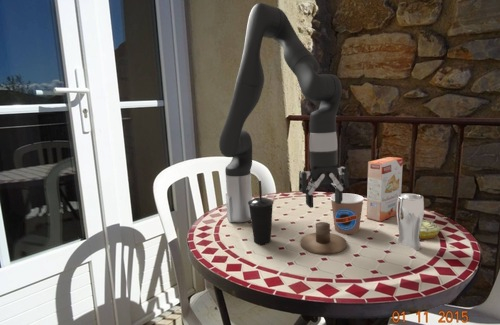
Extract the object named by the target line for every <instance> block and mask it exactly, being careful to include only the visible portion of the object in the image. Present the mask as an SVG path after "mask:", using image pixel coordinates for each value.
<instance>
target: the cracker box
mask: <svg viewBox="0 0 500 325" xmlns="http://www.w3.org/2000/svg"><path fill="white" fill-rule="evenodd" d="M403 162H404V159H403V157H394V156H392V157H391V156H387V157H383V158H380V159H378V158H377V159H375V160H374V159H373V160H371V161H370V160H369V161H368V162H367V188H366V189H367V193H366V194H367V195H366V196H367V197H366V219H369V220H373V221H377V222H382V221H385V220H388V219H389V218H391V217H394V216H397V214H396V209H397V199H398V195H399V194H402V185H403V184H402V183H403V167H404V166H403V165H404V163H403Z"/></svg>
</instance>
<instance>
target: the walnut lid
mask: <svg viewBox="0 0 500 325" xmlns="http://www.w3.org/2000/svg"><path fill="white" fill-rule="evenodd" d="M299 242H300V243H299V245H300V247H301V248H302V249H303V250H304V251H307V252H309V253H312V254H313V253H314V254H321V255H325V254H326V255H332V254H338V253H340V252H343V251H344V250H345V249H346V247H347V240H346V239H345V237H343V236H341V235H338V234H336V233H331V224H330V223H329V222H326V221H320V222H316V223H315V232H312V233H308V234H306V235H304V236H302V237H301V238H300V240H299Z"/></svg>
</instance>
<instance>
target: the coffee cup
mask: <svg viewBox="0 0 500 325" xmlns="http://www.w3.org/2000/svg"><path fill="white" fill-rule="evenodd" d="M329 199H330V201H331V202H330V203H331V208H332V217H333V218H332V219H333V225H334V230H335V232H337V233H338V234H343V235H354V234H358V233H359V232H360V228H361V227H360V225H361V219H362V212H363V204H364V201H365V198H364V197H363V196H362V195H359V194H357V193H356V194H355V193H347V192H346V193H343V192H342V202H341V204H337V203H336V202H335V194H332V195H331V196H330V197H329Z"/></svg>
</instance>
